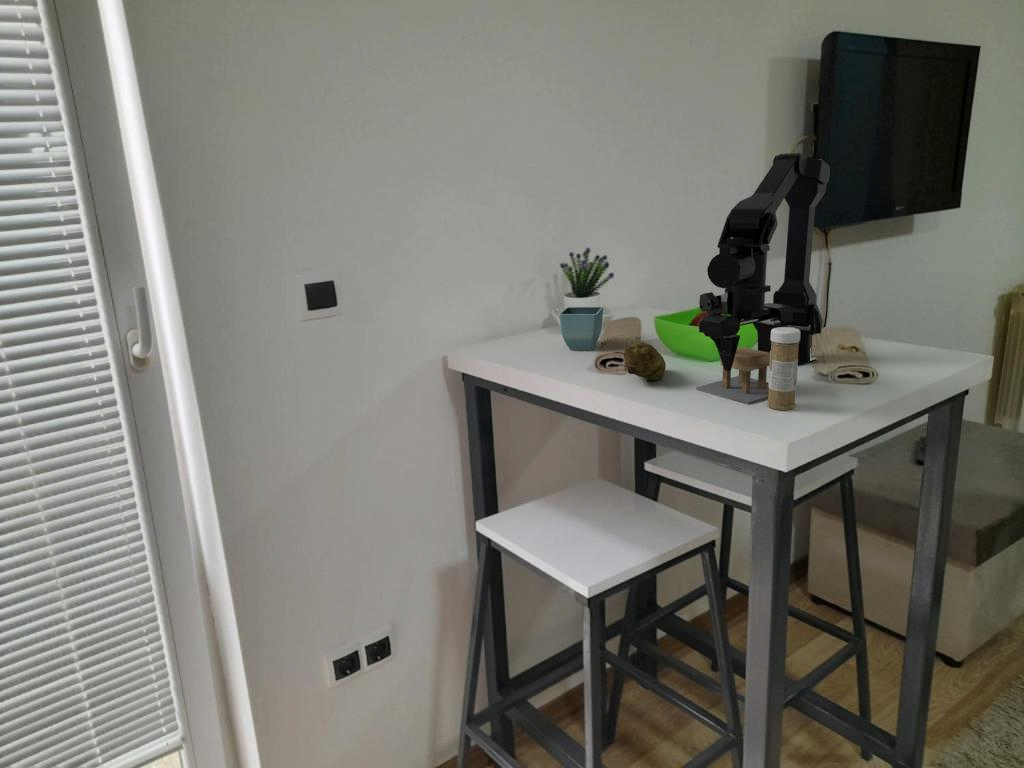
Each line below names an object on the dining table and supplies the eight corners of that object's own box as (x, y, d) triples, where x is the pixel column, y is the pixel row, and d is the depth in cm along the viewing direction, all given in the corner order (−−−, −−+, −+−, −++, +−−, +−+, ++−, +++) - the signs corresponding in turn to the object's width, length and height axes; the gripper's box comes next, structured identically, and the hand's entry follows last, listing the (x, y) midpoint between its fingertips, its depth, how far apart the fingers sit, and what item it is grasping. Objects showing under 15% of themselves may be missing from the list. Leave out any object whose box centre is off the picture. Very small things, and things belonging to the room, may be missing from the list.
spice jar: (774, 401, 128) (778, 325, 124) (800, 406, 125) (805, 328, 121) (762, 408, 125) (766, 330, 121) (788, 413, 122) (793, 333, 118)
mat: (739, 377, 143) (739, 375, 143) (792, 390, 133) (793, 388, 133) (696, 389, 136) (696, 387, 136) (748, 404, 127) (748, 402, 127)
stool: (741, 381, 139) (743, 347, 137) (768, 388, 134) (770, 352, 132) (719, 387, 136) (721, 352, 134) (746, 394, 131) (747, 358, 129)
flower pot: (559, 352, 169) (558, 313, 166) (567, 343, 177) (566, 306, 174) (597, 353, 166) (596, 314, 164) (604, 344, 174) (603, 306, 172)
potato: (682, 375, 146) (683, 335, 144) (645, 390, 137) (645, 349, 135) (647, 369, 152) (647, 331, 149) (609, 383, 143) (609, 343, 141)
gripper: (747, 270, 140) (743, 349, 145) (676, 281, 131) (675, 366, 135) (797, 275, 131) (792, 360, 136) (725, 288, 122) (722, 379, 126)
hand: (744, 366), depth 133 cm, fingers open, 9 cm apart
